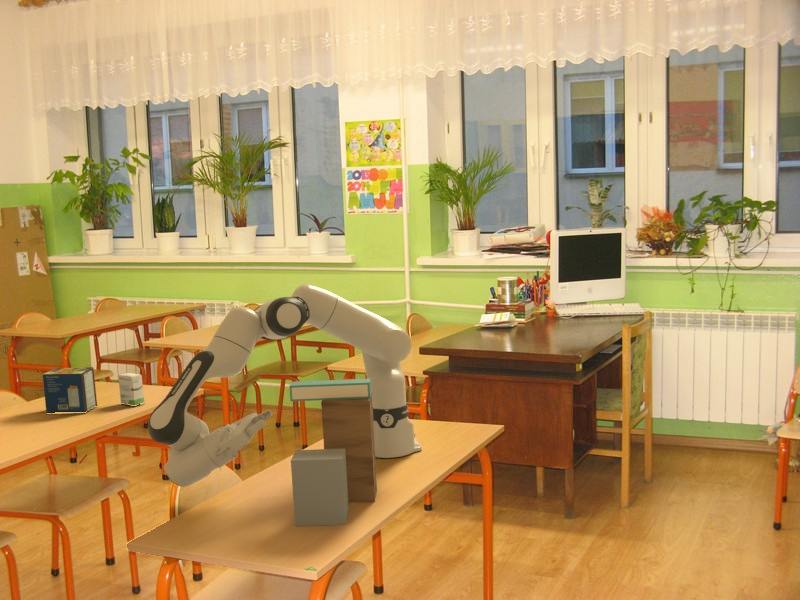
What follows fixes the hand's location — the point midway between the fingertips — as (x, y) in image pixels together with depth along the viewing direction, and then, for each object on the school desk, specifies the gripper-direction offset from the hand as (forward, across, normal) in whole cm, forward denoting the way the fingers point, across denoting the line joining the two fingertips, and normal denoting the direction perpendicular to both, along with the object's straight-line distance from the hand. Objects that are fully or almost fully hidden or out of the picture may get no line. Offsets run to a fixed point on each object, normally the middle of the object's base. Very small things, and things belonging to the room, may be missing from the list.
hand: (267, 417), depth 225 cm
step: (+2, -15, +26) cm, 30 cm away
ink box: (-74, +108, -18) cm, 132 cm away
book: (+16, 0, +4) cm, 17 cm away
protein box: (-92, +102, -28) cm, 140 cm away
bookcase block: (+7, 0, +29) cm, 30 cm away
